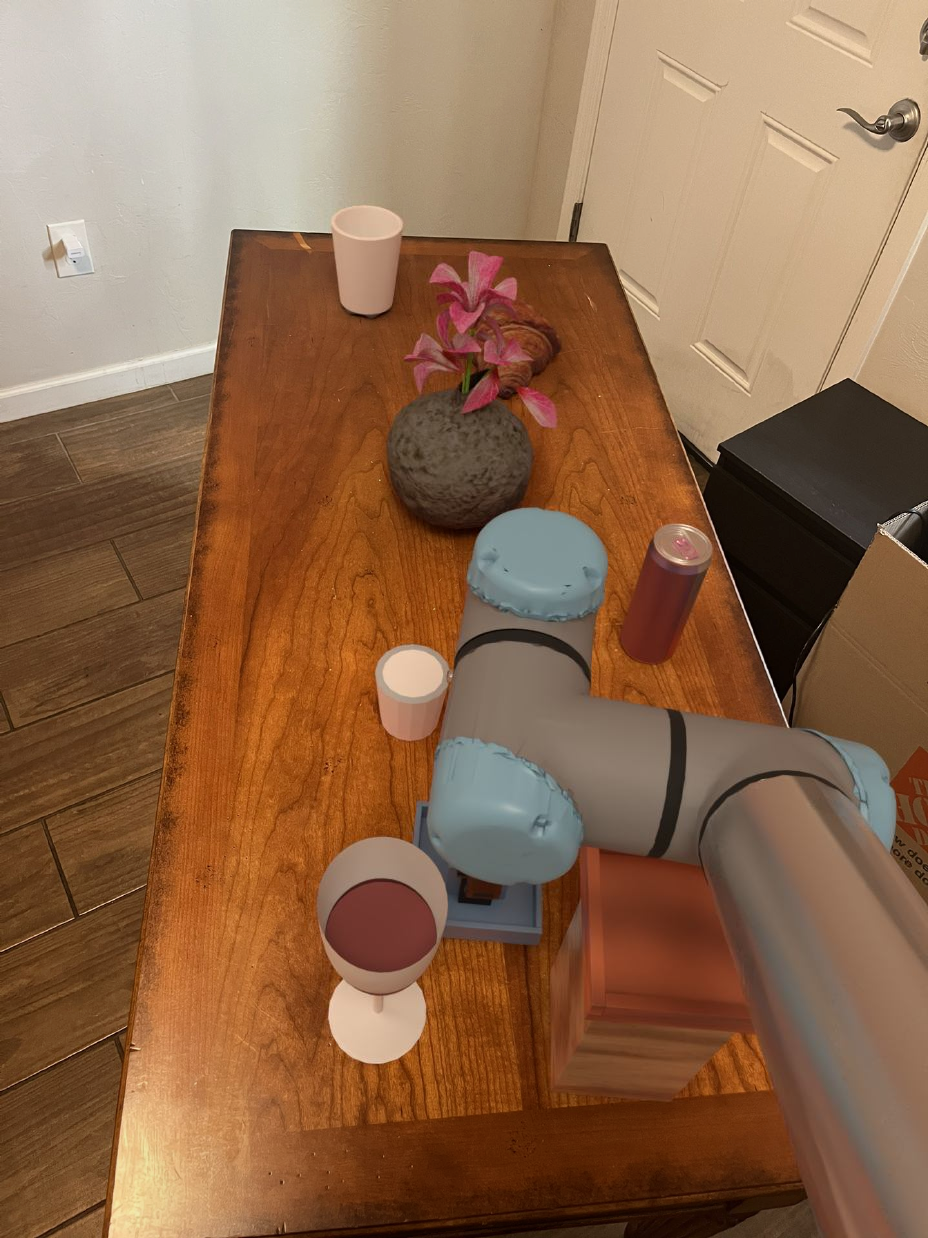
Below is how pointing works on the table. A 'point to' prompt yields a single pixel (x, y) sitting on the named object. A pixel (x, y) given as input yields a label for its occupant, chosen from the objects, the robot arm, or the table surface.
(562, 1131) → the table surface
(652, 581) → the beverage can
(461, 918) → the tray
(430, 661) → the shot glass
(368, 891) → the wineglass
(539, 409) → the vase
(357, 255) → the cup
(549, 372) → the table surface
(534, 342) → the pastry
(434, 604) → the table surface
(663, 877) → the stand
